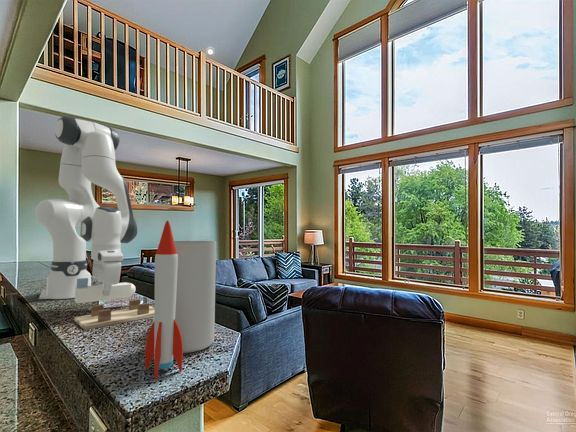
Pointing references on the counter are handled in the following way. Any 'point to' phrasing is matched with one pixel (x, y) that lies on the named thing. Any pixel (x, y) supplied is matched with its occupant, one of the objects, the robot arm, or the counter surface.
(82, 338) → the counter surface
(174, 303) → the toy rocket
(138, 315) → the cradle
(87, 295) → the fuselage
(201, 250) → the cylinder vase
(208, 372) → the counter surface
